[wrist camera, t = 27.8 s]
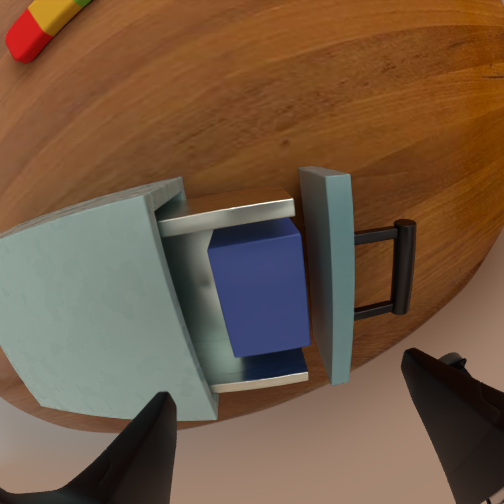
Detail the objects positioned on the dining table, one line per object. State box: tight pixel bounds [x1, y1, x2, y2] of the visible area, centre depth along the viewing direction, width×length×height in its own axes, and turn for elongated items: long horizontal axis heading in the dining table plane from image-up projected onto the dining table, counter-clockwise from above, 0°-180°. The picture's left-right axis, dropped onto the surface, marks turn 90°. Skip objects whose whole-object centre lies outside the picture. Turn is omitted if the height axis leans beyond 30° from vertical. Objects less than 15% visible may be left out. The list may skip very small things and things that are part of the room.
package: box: [207, 217, 311, 358], centre depth 16 cm, size 5×7×4 cm, turn 9°
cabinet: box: [0, 177, 219, 421], centre depth 17 cm, size 16×14×8 cm
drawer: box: [154, 166, 416, 393], centre depth 16 cm, size 20×13×6 cm, turn 99°
